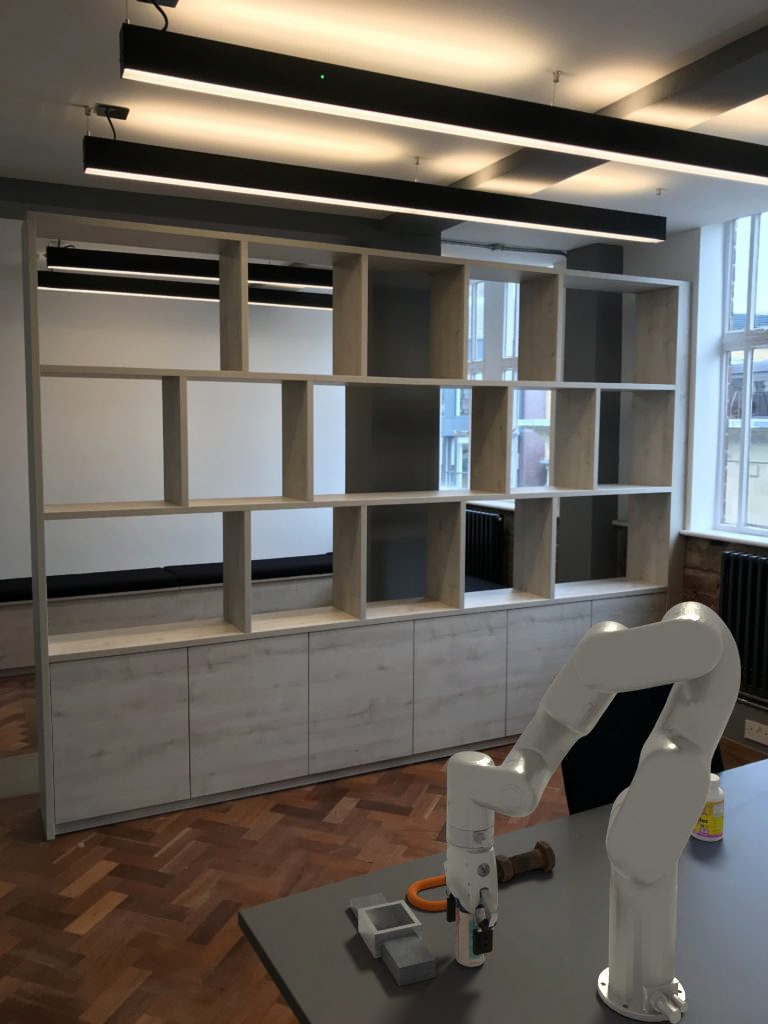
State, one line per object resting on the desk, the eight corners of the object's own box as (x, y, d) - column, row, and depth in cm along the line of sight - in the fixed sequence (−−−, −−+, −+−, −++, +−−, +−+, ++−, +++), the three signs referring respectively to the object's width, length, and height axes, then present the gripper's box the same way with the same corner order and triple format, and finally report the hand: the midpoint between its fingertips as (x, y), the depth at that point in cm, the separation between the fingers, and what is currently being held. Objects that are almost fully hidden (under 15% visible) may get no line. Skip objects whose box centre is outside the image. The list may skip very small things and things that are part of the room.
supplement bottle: (682, 832, 183) (683, 773, 182) (705, 826, 185) (707, 768, 184) (706, 845, 177) (708, 784, 176) (730, 839, 179) (731, 779, 178)
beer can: (466, 948, 141) (466, 877, 140) (490, 959, 138) (491, 887, 137) (449, 961, 137) (449, 889, 136) (474, 973, 134) (474, 899, 133)
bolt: (480, 891, 163) (546, 871, 169) (492, 889, 158) (559, 869, 165) (472, 859, 165) (536, 841, 171) (483, 857, 160) (550, 838, 167)
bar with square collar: (441, 976, 133) (441, 951, 133) (392, 987, 131) (392, 962, 130) (387, 899, 156) (386, 878, 156) (344, 908, 153) (343, 886, 153)
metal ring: (495, 891, 156) (420, 909, 150) (495, 900, 156) (420, 918, 151) (469, 867, 165) (398, 883, 159) (469, 875, 165) (398, 891, 159)
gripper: (518, 852, 129) (516, 961, 130) (467, 807, 145) (466, 904, 147) (473, 861, 126) (471, 972, 128) (426, 813, 143) (425, 912, 144)
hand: (468, 935), depth 137 cm, fingers open, 9 cm apart
